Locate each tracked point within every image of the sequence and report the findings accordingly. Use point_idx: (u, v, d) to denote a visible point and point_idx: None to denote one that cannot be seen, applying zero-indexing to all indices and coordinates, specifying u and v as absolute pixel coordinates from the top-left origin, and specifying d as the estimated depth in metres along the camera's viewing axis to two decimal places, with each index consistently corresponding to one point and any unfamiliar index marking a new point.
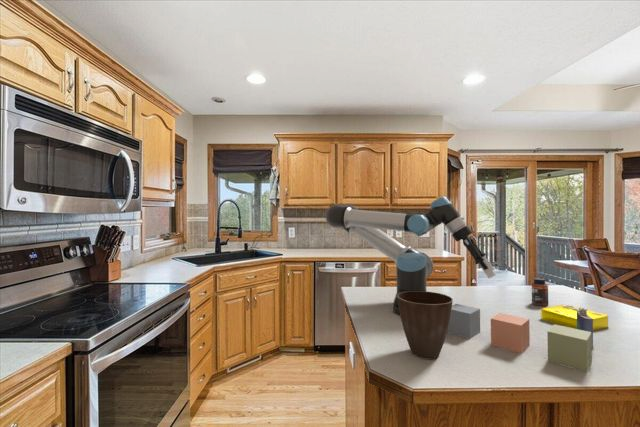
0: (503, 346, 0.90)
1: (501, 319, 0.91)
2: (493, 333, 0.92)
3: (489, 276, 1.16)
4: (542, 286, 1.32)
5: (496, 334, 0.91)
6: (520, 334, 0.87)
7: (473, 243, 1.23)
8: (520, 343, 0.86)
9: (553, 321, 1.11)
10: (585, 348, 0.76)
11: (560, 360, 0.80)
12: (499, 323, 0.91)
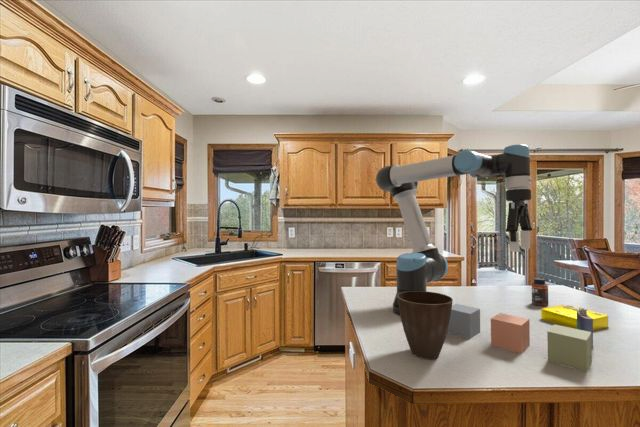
0: (503, 346, 0.90)
1: (501, 319, 0.91)
2: (493, 333, 0.92)
3: (511, 249, 1.02)
4: (542, 286, 1.32)
5: (496, 334, 0.91)
6: (520, 334, 0.87)
7: (521, 210, 1.03)
8: (520, 343, 0.86)
9: (553, 321, 1.11)
10: (585, 348, 0.76)
11: (560, 360, 0.80)
12: (499, 323, 0.91)
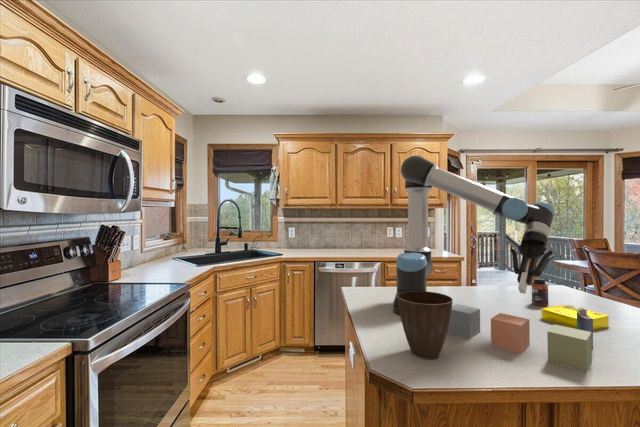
0: (503, 346, 0.90)
1: (501, 319, 0.91)
2: (493, 333, 0.92)
3: (524, 288, 0.99)
4: (542, 286, 1.32)
5: (496, 334, 0.91)
6: (520, 334, 0.87)
7: None
8: (520, 343, 0.86)
9: (553, 321, 1.11)
10: (585, 348, 0.76)
11: (560, 360, 0.80)
12: (499, 323, 0.91)
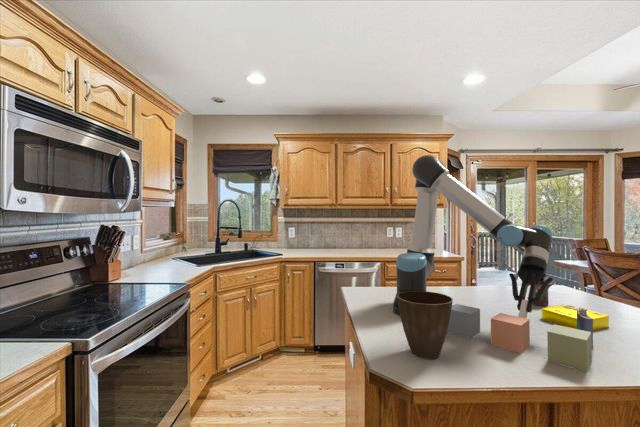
0: (503, 346, 0.90)
1: (501, 319, 0.91)
2: (493, 333, 0.92)
3: (524, 317, 0.97)
4: None
5: (496, 334, 0.91)
6: (520, 334, 0.87)
7: (537, 284, 1.04)
8: (520, 343, 0.86)
9: (553, 321, 1.11)
10: (585, 348, 0.76)
11: (560, 360, 0.80)
12: (499, 323, 0.91)
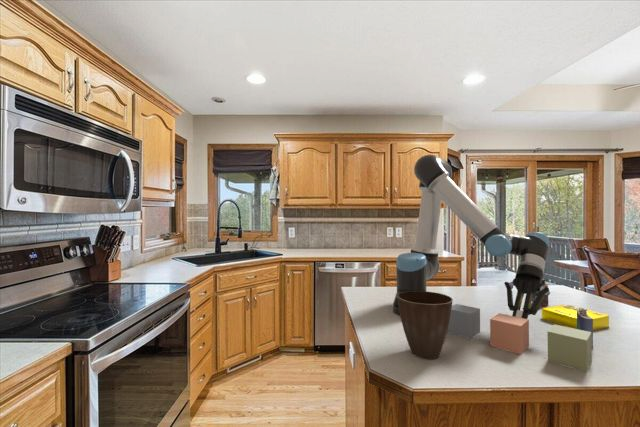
0: (502, 347, 0.89)
1: (500, 320, 0.90)
2: (492, 334, 0.91)
3: None
4: None
5: (495, 335, 0.90)
6: (520, 335, 0.86)
7: None
8: (520, 344, 0.86)
9: (553, 321, 1.11)
10: (585, 348, 0.76)
11: (560, 360, 0.80)
12: (498, 323, 0.90)
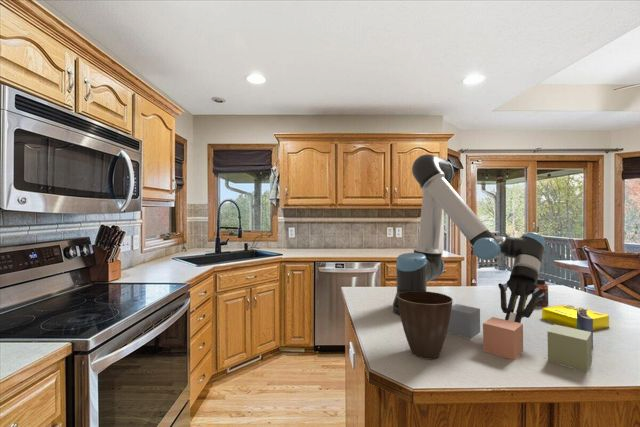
0: (495, 352, 0.86)
1: (493, 324, 0.87)
2: (485, 338, 0.88)
3: None
4: (542, 286, 1.32)
5: (488, 340, 0.87)
6: (513, 340, 0.83)
7: (527, 296, 0.98)
8: (513, 349, 0.83)
9: (554, 321, 1.11)
10: (585, 348, 0.76)
11: (560, 360, 0.80)
12: (491, 328, 0.87)
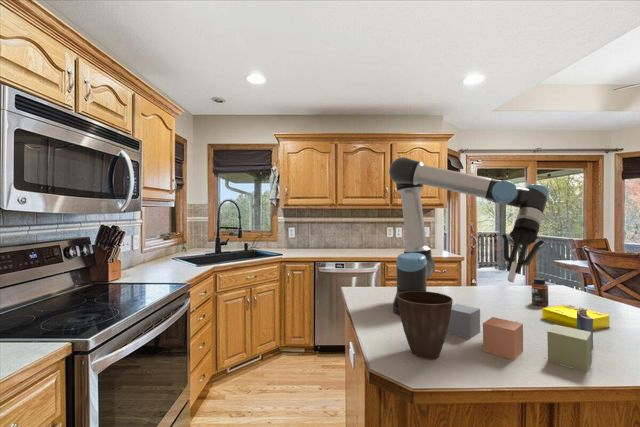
0: (495, 352, 0.86)
1: (493, 324, 0.87)
2: (485, 338, 0.88)
3: (513, 278, 1.03)
4: (542, 286, 1.32)
5: (488, 340, 0.87)
6: (513, 340, 0.83)
7: (528, 245, 1.09)
8: (513, 349, 0.83)
9: (554, 320, 1.11)
10: (585, 348, 0.76)
11: (560, 360, 0.80)
12: (491, 328, 0.87)
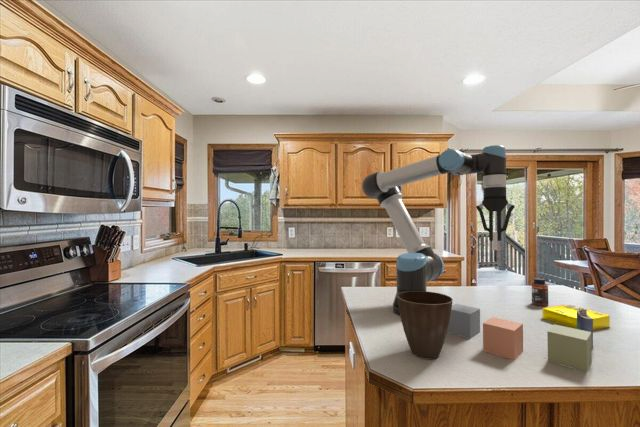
0: (495, 352, 0.86)
1: (493, 324, 0.87)
2: (485, 338, 0.88)
3: (497, 248, 1.14)
4: (542, 286, 1.32)
5: (488, 340, 0.87)
6: (513, 340, 0.83)
7: None
8: (513, 349, 0.83)
9: (554, 320, 1.12)
10: (585, 348, 0.76)
11: (560, 360, 0.80)
12: (491, 328, 0.87)
